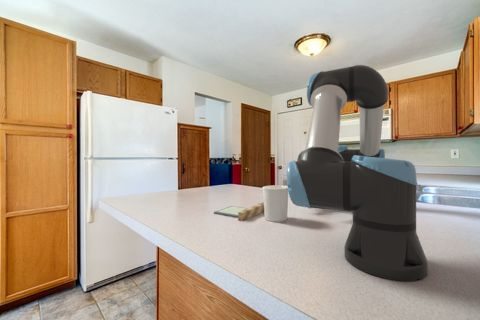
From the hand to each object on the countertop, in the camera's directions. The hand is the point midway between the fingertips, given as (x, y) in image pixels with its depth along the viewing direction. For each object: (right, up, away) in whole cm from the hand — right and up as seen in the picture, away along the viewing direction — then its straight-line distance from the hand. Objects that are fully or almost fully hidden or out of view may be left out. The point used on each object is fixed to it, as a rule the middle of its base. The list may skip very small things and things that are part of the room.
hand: (293, 184), depth 89 cm
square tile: (-24, -12, +5) cm, 27 cm away
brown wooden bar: (-16, -12, +1) cm, 20 cm away
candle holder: (-8, -13, -6) cm, 16 cm away
